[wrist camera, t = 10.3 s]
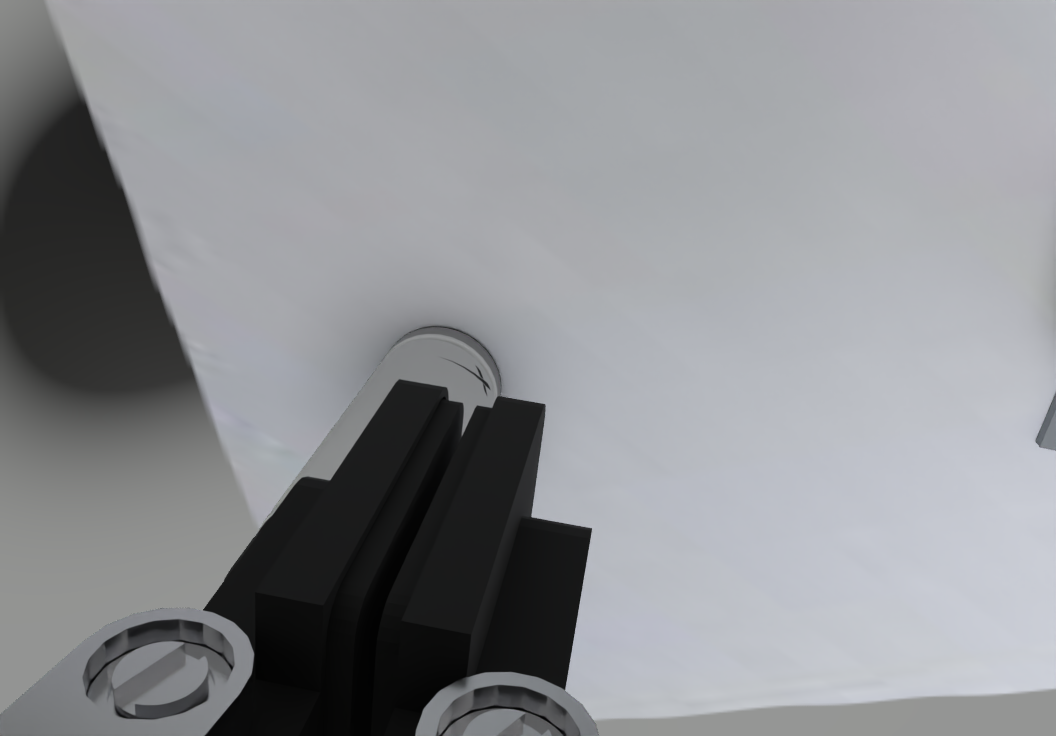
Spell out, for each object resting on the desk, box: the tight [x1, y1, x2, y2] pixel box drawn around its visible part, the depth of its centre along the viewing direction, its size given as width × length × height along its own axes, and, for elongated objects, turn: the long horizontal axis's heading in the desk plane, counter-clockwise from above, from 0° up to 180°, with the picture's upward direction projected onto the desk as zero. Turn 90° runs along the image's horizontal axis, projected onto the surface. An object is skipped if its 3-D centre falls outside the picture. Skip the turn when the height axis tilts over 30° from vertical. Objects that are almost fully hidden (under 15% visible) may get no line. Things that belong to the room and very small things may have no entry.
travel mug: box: [224, 327, 501, 581], centre depth 41 cm, size 6×7×20 cm
